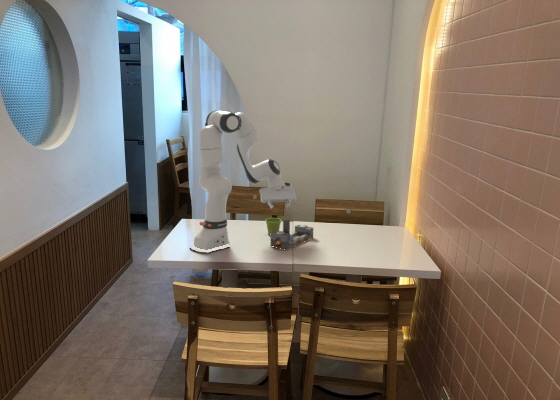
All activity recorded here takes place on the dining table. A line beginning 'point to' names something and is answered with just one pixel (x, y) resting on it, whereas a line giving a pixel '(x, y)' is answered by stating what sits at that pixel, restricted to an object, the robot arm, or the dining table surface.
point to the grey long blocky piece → (299, 236)
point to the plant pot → (273, 224)
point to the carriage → (287, 228)
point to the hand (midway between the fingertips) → (280, 207)
